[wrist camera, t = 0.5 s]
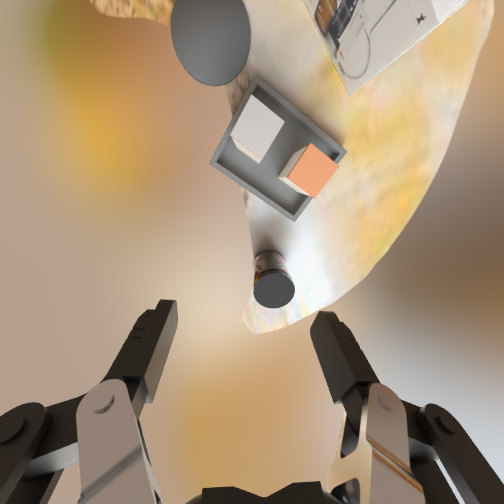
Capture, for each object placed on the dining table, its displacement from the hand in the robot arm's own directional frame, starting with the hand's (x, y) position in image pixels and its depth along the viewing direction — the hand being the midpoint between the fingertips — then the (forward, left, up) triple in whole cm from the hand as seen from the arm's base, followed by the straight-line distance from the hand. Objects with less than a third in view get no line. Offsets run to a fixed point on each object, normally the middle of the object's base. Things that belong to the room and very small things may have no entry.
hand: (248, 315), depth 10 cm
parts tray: (-11, -1, -27) cm, 30 cm away
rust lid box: (-11, +3, -27) cm, 29 cm away
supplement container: (+7, +8, -28) cm, 30 cm away
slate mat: (-20, -17, -27) cm, 38 cm away
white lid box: (-11, -5, -27) cm, 30 cm away
